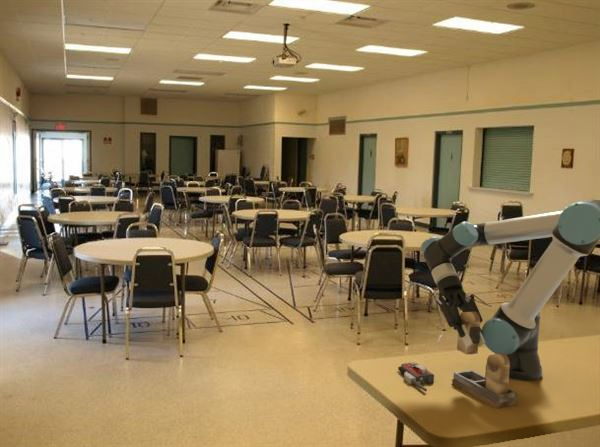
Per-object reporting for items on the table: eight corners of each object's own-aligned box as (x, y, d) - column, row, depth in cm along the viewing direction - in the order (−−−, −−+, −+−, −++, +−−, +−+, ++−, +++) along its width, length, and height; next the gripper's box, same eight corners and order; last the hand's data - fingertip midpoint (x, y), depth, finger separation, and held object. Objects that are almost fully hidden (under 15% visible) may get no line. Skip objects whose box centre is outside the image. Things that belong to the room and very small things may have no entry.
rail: (472, 380, 195) (474, 337, 193) (517, 404, 176) (520, 357, 175) (452, 383, 191) (454, 340, 190) (495, 408, 173) (498, 360, 172)
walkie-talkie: (392, 372, 202) (422, 395, 183) (392, 359, 201) (423, 381, 182) (415, 369, 204) (448, 392, 186) (416, 357, 204) (448, 378, 185)
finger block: (467, 348, 192) (470, 309, 190) (479, 354, 186) (482, 314, 185) (456, 349, 190) (459, 310, 189) (468, 355, 185) (471, 315, 183)
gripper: (462, 285, 204) (492, 348, 191) (419, 287, 197) (446, 353, 184) (474, 273, 198) (505, 337, 185) (430, 275, 192) (458, 341, 178)
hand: (475, 345), depth 185 cm, fingers closed on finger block, 4 cm apart
